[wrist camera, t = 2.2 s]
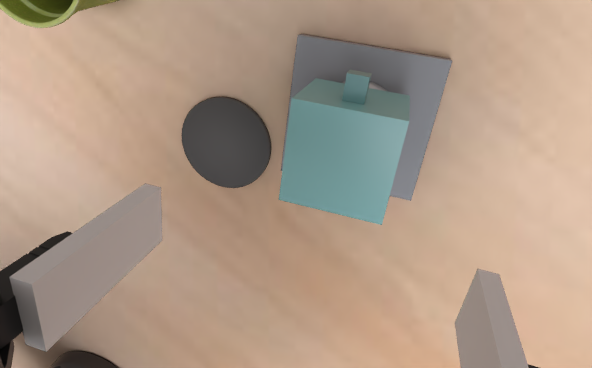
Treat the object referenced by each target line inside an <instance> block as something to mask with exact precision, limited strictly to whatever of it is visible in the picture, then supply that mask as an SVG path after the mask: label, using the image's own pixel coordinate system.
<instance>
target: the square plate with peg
mask: <svg viewBox="0 0 592 368" xmlns="http://www.w3.org/2000/svg"><path fill="white" fill-rule="evenodd" d="M451 63H452V60H451V59H448V58H442V57H436V56H430V55H424V54H418V53H412V52H406V51H400V50H395V49H389V48H383V47H377V46H371V45H365V44H359V43H353V42H347V41H341V40H335V39H329V38H323V37H317V36H311V35H305V34H300V35H298V37H297V45H296V53H295V62H294V70H293V78H292V86H291V94H290V102H289V110H288V118H287V126H286V134H285V142H284V150H283V158H282V166H281V171H282V170H283V162H284V154H285V146H286V139H287V131H288V123H289V115H290V107H291V99H292V97H294V96H295V95H296V94H297V93H299V92H300V91H301V90H302V89H303V88H305V87H306V86H307V85H308V84H310V83H311V82H312V81H313V80H314V79H316V78H318V79H323V80H329V81H334V82H339V83H345V81H346V75H347V72H348V71H349V70H355V71H361V72H367V73H372V75H371V79H370V84H369V88H372V89H377V90H382V91H388V92H393V93H398V94H404V95H409V96H410V110H409V125H408V128H407V132H406V136H405V140H404V143H403V147H402V151H401V155H400V158H399V162H398V166H397V170H396V173H395V177H394V181H393V185H392V188H391V192H390V196H393V197H397V198H402V199H406V200H410V201H411V199H412V195H413V192H414V188H415V185H416V182H417V178H418V175H419V172H420V168H421V165H422V161H423V158H424V155H425V151H426V148H427V144H428V141H429V138H430V134H431V131H432V128H433V124H434V121H435V117H436V114H437V111H438V107H439V104H440V100H441V97H442V94H443V90H444V87H445V84H446V80H447V77H448V73H449V70H450V67H451Z"/></svg>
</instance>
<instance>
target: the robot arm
mask: <svg viewBox="0 0 592 368" xmlns="http://www.w3.org/2000/svg"><path fill="white" fill-rule="evenodd" d="M161 241H162V209H161V187H157V186H153V185H149V184H144V185H142V186H141V187H139V188H138V189H136V190H135V191H133V192H132V193H131V194H129V195H128V196H126V197H125V198H123V199H122V200H120V201H119V202H117V203H116V204H115V205H113V206H112V207H110V208H109V209H107V210H106V211H104V212H103V213H101V214H100V215H99V216H97V217H96V218H94V219H93V220H91V221H90V222H88V223H87V224H86V225H84V226H83V227H81V228H80V229H78V230H77V231H75V232H74V233H71V232H65V233H62V234H60V235H57V236H54V237H52V238H50V239H49V240H47V241H46V242H44V243H42V244H41V245H39V247H36V248H35V249H33V250H32V251H30V252H29V254H26V255H24V256H23V257H21V258H20V259H18V260H17V261H15V262H14V263H12V264H11V265H9V266H8V267H6V268H5V269H3V270H2V271H0V368H11V365H12V358H13V352H14V342H13V339H14V338H15V337H16V336H18V335H19V334H20V333H21V332H22V331H23V335H24V339H25V343H26V345H28V346H31V347H34V348H37V349H39V350H42V351H45V352H47V351H48V350H49V349H50V348H51V347H52V346H53V345H54V344H55V343H56V342H57V341H58V340H59V339H60V338H61V337H62V336H63V335H64V334H65V333H66V332H68V331H69V330H70V329H71V328H72V327H73V326H74V325H75V324H76V323H77V322H78V321H79V320H80V319H81V318H82V317H83V316H84V315H85V314H86V313H87V312H88V311H89V310H90V309H91V308H92V307H93V306H95V305H96V304H97V303H98V302H99V301H100V300H101V299H102V298H103V297H104V296H105V295H106V294H107V293H108V292H109V291H110V290H111V289H112V288H113V287H114V286H115V285H116V284H117V283H118V282H119V281H120V280H122V279H123V278H124V277H125V276H126V275H127V274H128V273H129V272H130V271H131V270H132V269H133V268H134V267H135V266H136V265H137V264H138V263H139V262H140V261H141V260H142V259H143V258H144V257H145V256H146V255H147V254H148V253H150V252H151V251H152V250H153V249H154V248H155V247H156V246H157V245H158V244H159V243H160V242H161ZM455 328H456V335H457V343H458V351H459V358H460V366H461V368H539V367H535V366H532V365H528V364H527V361H526V358H525V354H524V351H523V348H522V345H521V342H520V339H519V335H518V332H517V329H516V326H515V323H514V320H513V316H512V313H511V310H510V307H509V304H508V301H507V297H506V294H505V291H504V288H503V285H502V282H501V278H500V275H499V274H496V273H492V272H489V271H485V270H481V269H477V271H476V274H475V276H474V279H473V281H472V283H471V286H470V288H469V290H468V293H467V295H466V297H465V300H464V302H463V305H462V307H461V309H460V312H459V314H458V316H457V319H456V321H455ZM50 368H117V367H116V366H114V365H113V364H111V363H110V362H108V361H106V360H105V359H103V358H101V357H98V356H96V355H93V354H90V353H86V352H80V351H72V352H67V353H65V354H63V355H62V356H60V357H59V358H58V359H57V360H56V361H55V362H54V363H53V364H52V365H51V367H50Z"/></svg>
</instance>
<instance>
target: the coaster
mask: <svg viewBox="0 0 592 368" xmlns="http://www.w3.org/2000/svg"><path fill="white" fill-rule="evenodd" d="M182 143H183V148H184V151H185V154H186V156H187V158H188V160H189V162H190V164H191V165H192V166H193V168H194V169H195V170H196V171H197V172H198V173H199V174H200V175H201V176H202V177H204V178H205V179H206V180H208V181H210V182H211V183H214V184H216V185H219V186H222V187H227V188H238V187H243V186H246V185H248V184H250V183H252V182H254V181H255V180H256V179H257V178H258V177H259V176H260V175H261V174H262V173H263V172H264V170H265V169H266V167H267V165H268V162H269V159H270V154H271V142H270V137H269V133H268V131H267V128H266V126H265V124H264V123H263V121H262V119H261V118H260V117H259V116H258V114H257V113H256V112H255V111H254V110H253V109H251V108H250V107H249V106H247V105H246V104H244V103H242V102H241V101H238V100H236V99H232V98H228V97H214V98H210V99H207V100H205V101H203V102H201V103H199V104H197V105H196V106H195V107H194V108H193V109H191V111H190V112H189V113H188V115H187V117H186V118H185V121H184V124H183V128H182Z"/></svg>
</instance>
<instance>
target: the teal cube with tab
mask: <svg viewBox="0 0 592 368" xmlns="http://www.w3.org/2000/svg"><path fill="white" fill-rule="evenodd" d="M371 75H372V73H367V72H361V71H355V70H349V71H348V72H347V75H346V81H345V83H339V82H334V81H329V80H323V79H318V78H316V79H314V80H313V81H312V82H311V83H310V84H308V85H307V86H306V87H305V88H303V89H302V90H301V91H300V92H299V93H297V94H296V95H295V96H294V97H292V99H291V107H290V115H289V123H288V131H287V139H286V146H285V154H284V162H283V170H282V178H281V186H280V194H279V200H282V201H286V202H290V203H294V204H298V205H302V206H306V207H311V208H315V209H319V210H323V211H327V212H331V213H335V214H339V215H343V216H347V217H351V218H356V219H360V220H364V221H368V222H372V223H376V224H380V225H382V222H383V218H384V215H385V211H386V207H387V203H388V200H389V196H390V192H391V188H392V185H393V181H394V177H395V173H396V170H397V166H398V162H399V158H400V155H401V151H402V147H403V143H404V140H405V136H406V132H407V128H408V125H409V110H410V96H409V95H404V94H398V93H393V92H388V91H382V90H377V89H372V88H369V84H370V79H371Z"/></svg>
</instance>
